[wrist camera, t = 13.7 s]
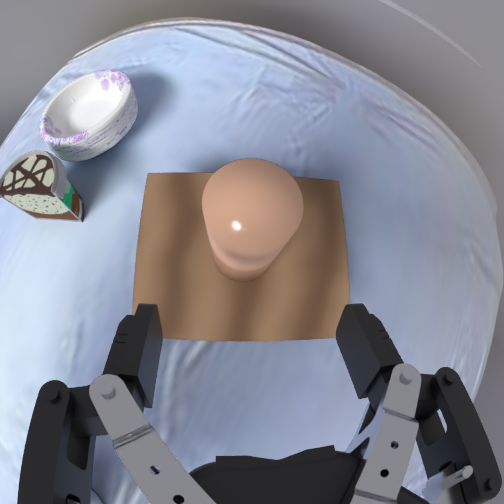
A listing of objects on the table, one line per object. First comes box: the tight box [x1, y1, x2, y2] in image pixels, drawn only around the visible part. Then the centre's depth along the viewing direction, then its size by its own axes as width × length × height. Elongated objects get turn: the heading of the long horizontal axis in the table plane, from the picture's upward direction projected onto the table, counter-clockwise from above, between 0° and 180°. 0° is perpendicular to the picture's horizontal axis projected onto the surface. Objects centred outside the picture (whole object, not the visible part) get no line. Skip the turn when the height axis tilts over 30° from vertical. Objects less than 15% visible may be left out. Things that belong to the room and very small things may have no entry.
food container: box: [0, 150, 84, 222], centre depth 28 cm, size 12×6×10 cm, turn 86°
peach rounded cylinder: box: [202, 158, 304, 282], centre depth 20 cm, size 5×5×11 cm
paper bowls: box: [40, 70, 138, 162], centre depth 32 cm, size 15×15×8 cm
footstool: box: [132, 173, 350, 341], centre depth 29 cm, size 20×16×8 cm
